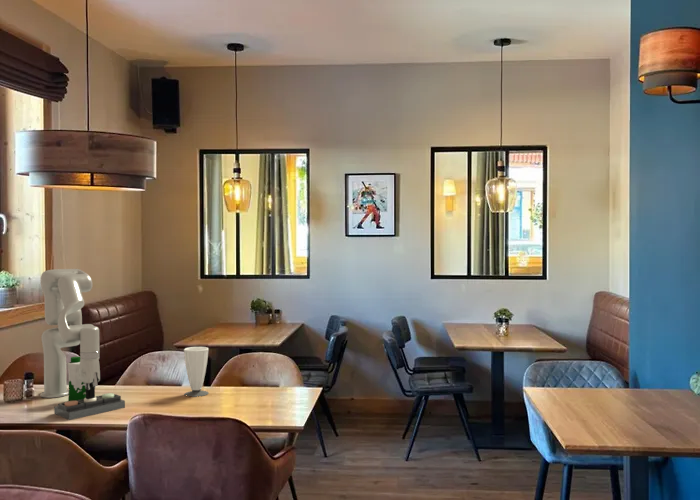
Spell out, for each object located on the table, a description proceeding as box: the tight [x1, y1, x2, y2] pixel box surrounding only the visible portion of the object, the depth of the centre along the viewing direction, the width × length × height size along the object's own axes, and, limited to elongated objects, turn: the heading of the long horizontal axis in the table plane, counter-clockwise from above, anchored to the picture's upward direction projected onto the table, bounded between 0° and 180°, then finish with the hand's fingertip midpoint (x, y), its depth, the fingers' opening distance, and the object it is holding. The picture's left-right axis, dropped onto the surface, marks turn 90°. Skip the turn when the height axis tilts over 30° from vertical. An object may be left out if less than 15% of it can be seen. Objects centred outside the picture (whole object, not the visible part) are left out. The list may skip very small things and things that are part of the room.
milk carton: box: [66, 356, 86, 401], centre depth 267 cm, size 9×9×20 cm
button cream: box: [84, 396, 97, 403], centre depth 253 cm, size 5×5×2 cm
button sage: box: [101, 392, 115, 399], centre depth 259 cm, size 5×5×2 cm
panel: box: [53, 393, 126, 421], centre depth 253 cm, size 14×24×5 cm, turn 139°
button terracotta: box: [64, 400, 78, 407], centre depth 247 cm, size 5×5×2 cm
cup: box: [183, 346, 210, 398], centre depth 280 cm, size 12×12×22 cm
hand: (90, 398), depth 253 cm, fingers closed
